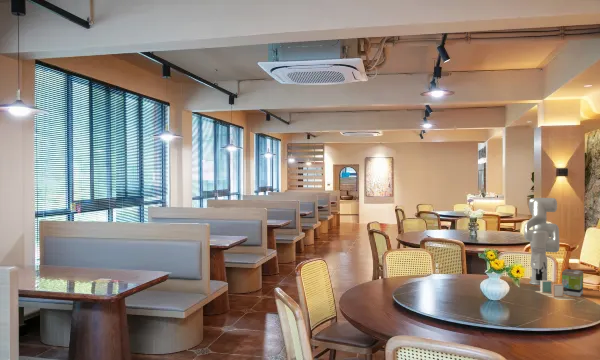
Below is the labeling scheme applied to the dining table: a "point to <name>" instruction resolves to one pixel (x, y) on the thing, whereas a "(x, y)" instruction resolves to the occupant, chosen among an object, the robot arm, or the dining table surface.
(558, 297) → the board
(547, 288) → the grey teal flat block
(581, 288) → the tea box
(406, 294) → the dining table surface
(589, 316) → the dining table surface
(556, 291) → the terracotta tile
